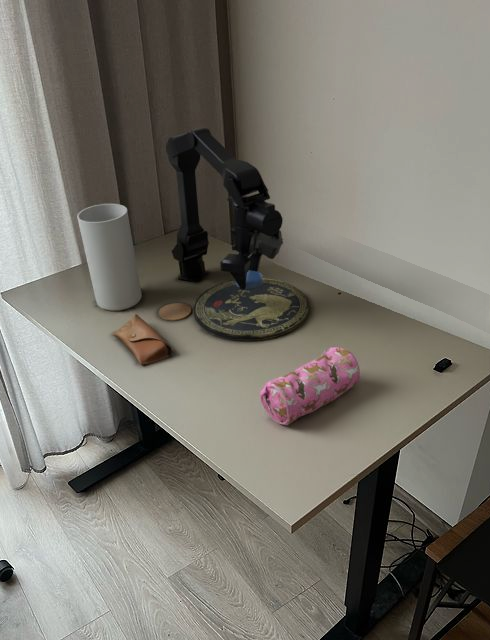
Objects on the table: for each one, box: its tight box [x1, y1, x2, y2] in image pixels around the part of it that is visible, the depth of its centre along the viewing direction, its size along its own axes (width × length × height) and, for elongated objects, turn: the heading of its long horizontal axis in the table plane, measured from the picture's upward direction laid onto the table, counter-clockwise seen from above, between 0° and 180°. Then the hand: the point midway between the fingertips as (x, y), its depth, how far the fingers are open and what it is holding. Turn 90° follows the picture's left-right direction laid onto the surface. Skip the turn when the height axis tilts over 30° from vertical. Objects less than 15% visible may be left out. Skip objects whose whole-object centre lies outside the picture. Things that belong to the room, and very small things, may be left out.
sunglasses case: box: [112, 313, 173, 366], centre depth 146 cm, size 18×7×7 cm, turn 32°
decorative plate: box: [192, 277, 309, 342], centre depth 156 cm, size 30×2×30 cm
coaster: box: [158, 302, 192, 322], centre depth 159 cm, size 9×9×1 cm
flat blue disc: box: [235, 270, 264, 290], centre depth 150 cm, size 7×7×2 cm
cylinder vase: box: [76, 203, 143, 312], centre depth 159 cm, size 12×12×25 cm
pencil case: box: [259, 346, 361, 426], centre depth 122 cm, size 21×9×9 cm, turn 128°
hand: (248, 282), depth 151 cm, fingers closed on flat blue disc, 7 cm apart
